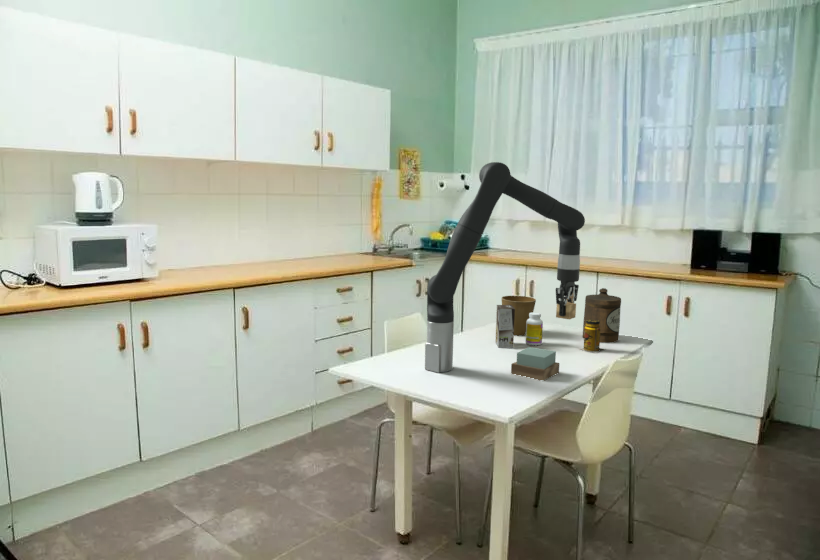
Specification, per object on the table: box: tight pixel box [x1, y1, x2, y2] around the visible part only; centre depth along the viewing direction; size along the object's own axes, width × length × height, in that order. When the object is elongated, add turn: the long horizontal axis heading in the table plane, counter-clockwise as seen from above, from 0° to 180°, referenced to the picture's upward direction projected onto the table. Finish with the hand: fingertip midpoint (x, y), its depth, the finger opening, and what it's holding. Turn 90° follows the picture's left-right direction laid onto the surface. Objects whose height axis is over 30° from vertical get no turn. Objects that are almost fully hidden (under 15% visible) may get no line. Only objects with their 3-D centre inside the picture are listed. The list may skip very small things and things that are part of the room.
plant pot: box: [501, 295, 537, 337], centre depth 262 cm, size 15×15×16 cm
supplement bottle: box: [525, 311, 544, 346], centre depth 245 cm, size 7×7×13 cm
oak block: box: [555, 302, 577, 320], centre depth 211 cm, size 5×5×5 cm
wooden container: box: [582, 287, 622, 344], centre depth 255 cm, size 15×15×22 cm
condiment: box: [579, 320, 606, 354], centre depth 237 cm, size 7×8×12 cm
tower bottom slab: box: [510, 361, 560, 381], centre depth 206 cm, size 12×12×4 cm
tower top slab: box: [516, 346, 557, 369], centre depth 205 cm, size 10×10×4 cm
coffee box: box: [495, 304, 515, 349], centre depth 242 cm, size 9×6×16 cm
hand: (565, 314), depth 211 cm, fingers closed on oak block, 5 cm apart
